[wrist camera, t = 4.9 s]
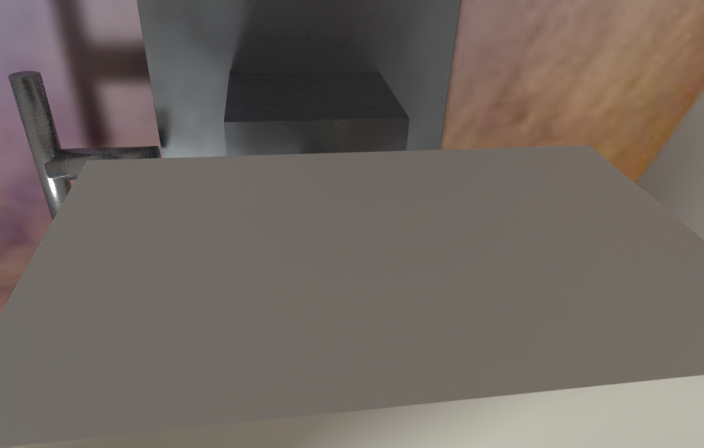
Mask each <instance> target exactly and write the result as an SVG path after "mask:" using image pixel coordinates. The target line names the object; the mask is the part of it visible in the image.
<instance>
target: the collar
mask: <svg viewBox="0 0 704 448" xmlns="http://www.w3.org/2000/svg"><path fill="white" fill-rule="evenodd" d="M0 448H704V240H703V239H702V238H701V237H699V236H698V235H697V234H696V233H694V232H693V231H692V230H691V229H690V228H688V227H687V226H686V225H685V224H684V223H682V222H681V221H680V220H679V219H677V218H676V217H675V216H674V215H672V214H671V213H670V212H669V211H668V210H667V209H665V208H664V207H663V206H662V205H660V204H659V203H658V202H657V201H656V200H655V199H653V198H652V197H651V196H650V195H649V194H647V193H646V192H645V191H644V190H643V189H641V188H640V187H639V186H638V185H637V184H635V183H634V182H633V181H632V180H630V179H629V178H628V177H627V176H626V175H624V174H623V173H622V172H621V171H620V170H618V169H617V168H616V167H615V166H614V165H612V164H611V163H610V162H609V161H608V160H606V159H605V158H604V157H603V156H601V155H600V154H599V153H598V152H597V151H595V150H594V149H593V148H592V147H591V146H589V145H584V146H550V147H517V148H484V149H450V150H417V151H384V152H350V153H317V154H284V155H250V156H217V157H184V158H150V159H117V160H87V161H86V163H85V164H84V166H83V168H82V170H81V171H80V173H79V175H78V177H77V179H76V180H75V182H74V184H73V186H72V187H71V189H70V191H69V193H68V195H67V196H66V198H65V200H64V202H63V203H62V205H61V207H60V209H59V211H58V212H57V214H56V216H55V218H54V219H53V221H52V223H51V225H50V227H49V228H48V230H47V232H46V234H45V236H44V237H43V239H42V241H41V243H40V244H39V246H38V248H37V250H36V252H35V253H34V255H33V257H32V259H31V260H30V262H29V264H28V266H27V268H26V269H25V271H24V273H23V275H22V276H21V278H20V280H19V282H18V284H17V285H16V287H15V289H14V291H13V292H12V294H11V296H10V298H9V300H8V301H7V303H6V305H5V307H4V308H3V310H2V312H1V314H0Z"/></svg>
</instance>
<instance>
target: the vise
mask: <svg viewBox="0 0 704 448" xmlns="http://www.w3.org/2000/svg"><path fill="white" fill-rule="evenodd" d="M137 4H138V10H139V16H140V22H141V28H142V34H143V40H144V46H145V52H146V59H147V65H148V71H149V77H150V83H151V89H152V95H153V101H154V107H155V113H156V119H157V125H158V131H159V137H160V143H161V149H162V156H163V158H184V157H217V156H250V155H284V154H317V153H350V152H384V151H417V150H440V143H441V136H442V129H443V122H444V115H445V108H446V100H447V93H448V86H449V79H450V72H451V65H452V57H453V50H454V43H455V36H456V29H457V22H458V14H459V7H460V0H137ZM8 78H9V81H10V84H11V87H12V91H13V94H14V97H15V100H16V104H17V107H18V110H19V113H20V116H21V120H22V123H23V126H24V129H25V133H26V136H27V139H28V142H29V146H30V149H31V152H32V155H33V159H34V162H35V165H36V168H37V172H38V175H39V178H40V181H41V185H42V188H43V191H44V194H45V198H46V201H47V204H48V207H49V211H50V214H51V217H52V220H53V219H54V218H55V216H56V214H57V212H58V211H59V209H60V207H61V205H62V203H63V202H64V200H65V198H66V196H67V195H68V193H69V191H70V189H71V183H70V180H74V179H77V177H78V175H79V173H80V171H81V170H82V168H83V166H84V164H85V163H86V161H87V160H117V159H150V158H161V156H160V151H159V148H158V146H147V147H110V148H73V149H61V146H60V143H59V139H58V136H57V132H56V128H55V125H54V121H53V117H52V114H51V110H50V106H49V103H48V99H47V95H46V92H45V88H44V85H43V81H42V77H41V74H40V73H39V72H36V71H22V72H17V73H13V74H11V75H9V76H8Z"/></svg>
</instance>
